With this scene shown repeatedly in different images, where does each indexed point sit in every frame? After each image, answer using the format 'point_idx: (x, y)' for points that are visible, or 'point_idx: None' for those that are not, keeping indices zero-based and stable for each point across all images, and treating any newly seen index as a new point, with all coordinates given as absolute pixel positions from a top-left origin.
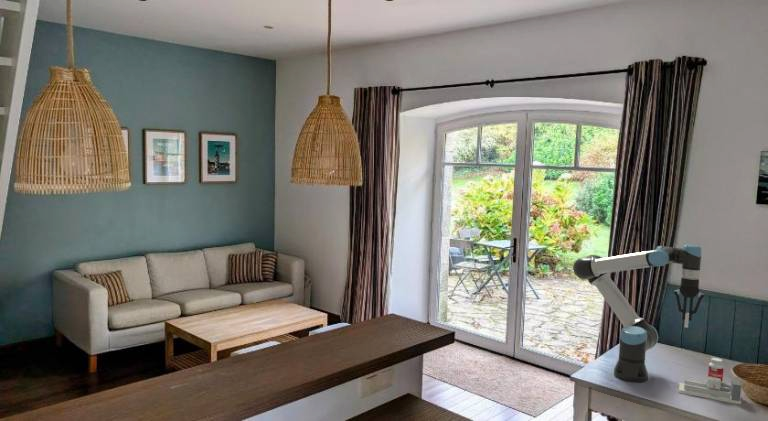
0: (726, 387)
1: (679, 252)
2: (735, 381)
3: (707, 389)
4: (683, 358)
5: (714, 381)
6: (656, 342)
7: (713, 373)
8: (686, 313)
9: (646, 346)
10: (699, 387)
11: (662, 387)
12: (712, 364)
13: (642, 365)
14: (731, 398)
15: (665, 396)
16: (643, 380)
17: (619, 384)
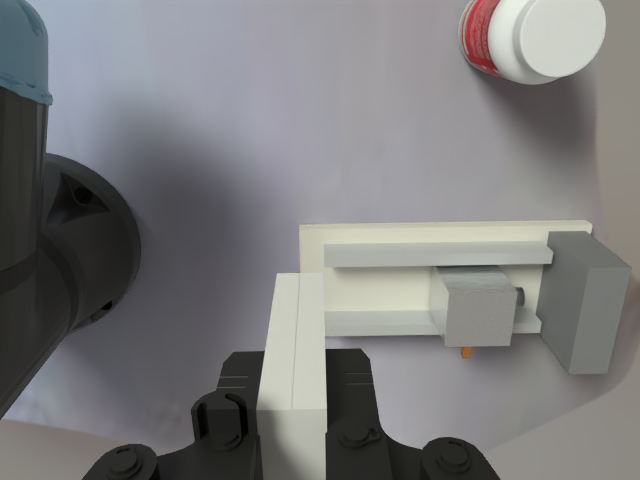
0: (536, 254)
1: None
2: (593, 324)
3: (433, 334)
4: None
5: (477, 343)
6: (47, 57)
7: (501, 77)
8: (278, 467)
9: (27, 346)
10: (396, 334)
11: (226, 304)
12: (513, 65)
13: (81, 315)
14: (536, 310)
15: None
16: (127, 290)
17: (44, 376)
